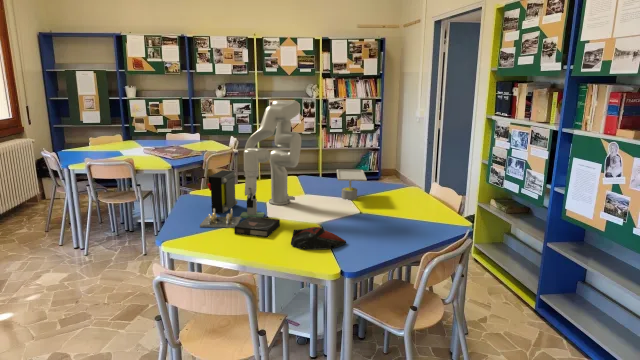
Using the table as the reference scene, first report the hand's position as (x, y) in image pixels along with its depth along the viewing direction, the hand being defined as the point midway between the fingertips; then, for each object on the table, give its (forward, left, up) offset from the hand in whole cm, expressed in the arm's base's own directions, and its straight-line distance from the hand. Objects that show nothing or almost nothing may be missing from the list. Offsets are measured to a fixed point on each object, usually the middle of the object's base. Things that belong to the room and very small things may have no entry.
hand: (251, 205), depth 230 cm
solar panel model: (-55, -41, -6) cm, 69 cm away
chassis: (+14, +11, -6) cm, 19 cm away
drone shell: (-35, +39, -7) cm, 53 cm away
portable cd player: (-6, +21, -7) cm, 23 cm away
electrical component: (+18, -14, -6) cm, 23 cm away
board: (0, -1, -6) cm, 6 cm away
